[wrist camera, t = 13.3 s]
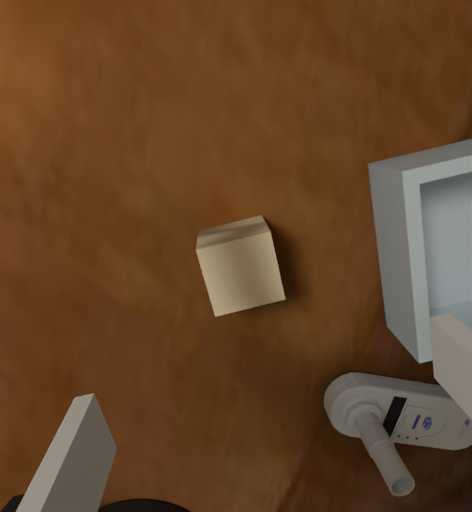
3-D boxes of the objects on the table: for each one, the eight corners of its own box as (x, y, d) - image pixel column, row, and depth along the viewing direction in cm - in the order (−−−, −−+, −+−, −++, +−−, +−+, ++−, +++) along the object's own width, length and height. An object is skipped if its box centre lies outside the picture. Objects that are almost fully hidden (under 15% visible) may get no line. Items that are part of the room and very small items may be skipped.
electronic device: (538, 530, 29) (353, 511, 27) (456, 433, 38) (314, 413, 36) (572, 475, 27) (379, 450, 25) (478, 388, 37) (331, 364, 34)
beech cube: (215, 288, 32) (215, 316, 27) (198, 230, 30) (195, 250, 25) (274, 273, 31) (285, 299, 27) (261, 215, 30) (270, 231, 25)
